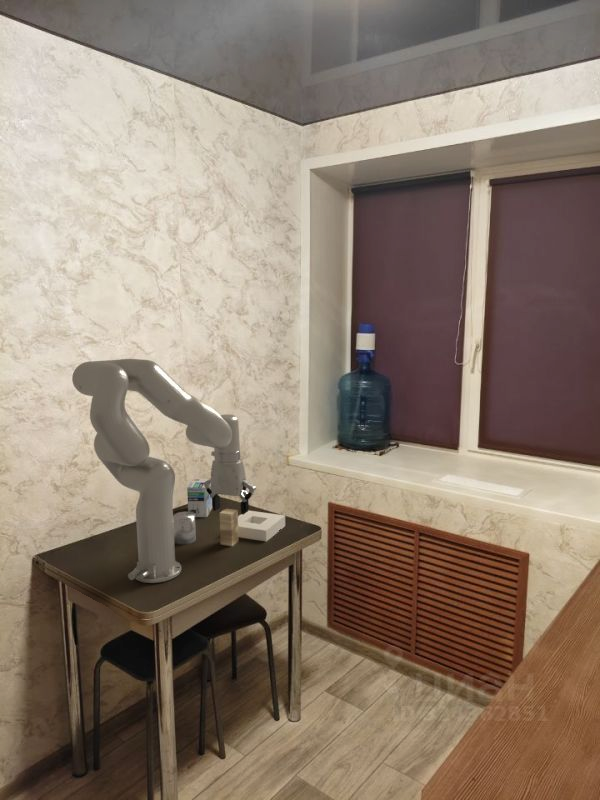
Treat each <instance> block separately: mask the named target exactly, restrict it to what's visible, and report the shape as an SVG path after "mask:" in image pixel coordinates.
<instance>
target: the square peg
mask: <svg viewBox="0 0 600 800" xmlns="http://www.w3.org/2000/svg"><path fill="white" fill-rule="evenodd" d="M238 516H239V510H238V509H233V508H225V509H223V510H221V512H219V535H220V536H219V537H220V540H219V541H220V542H219V543H220V545H222V546H228V547H234V546H235V545H236V544H237V543H239V538H240V537H238Z"/></svg>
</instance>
